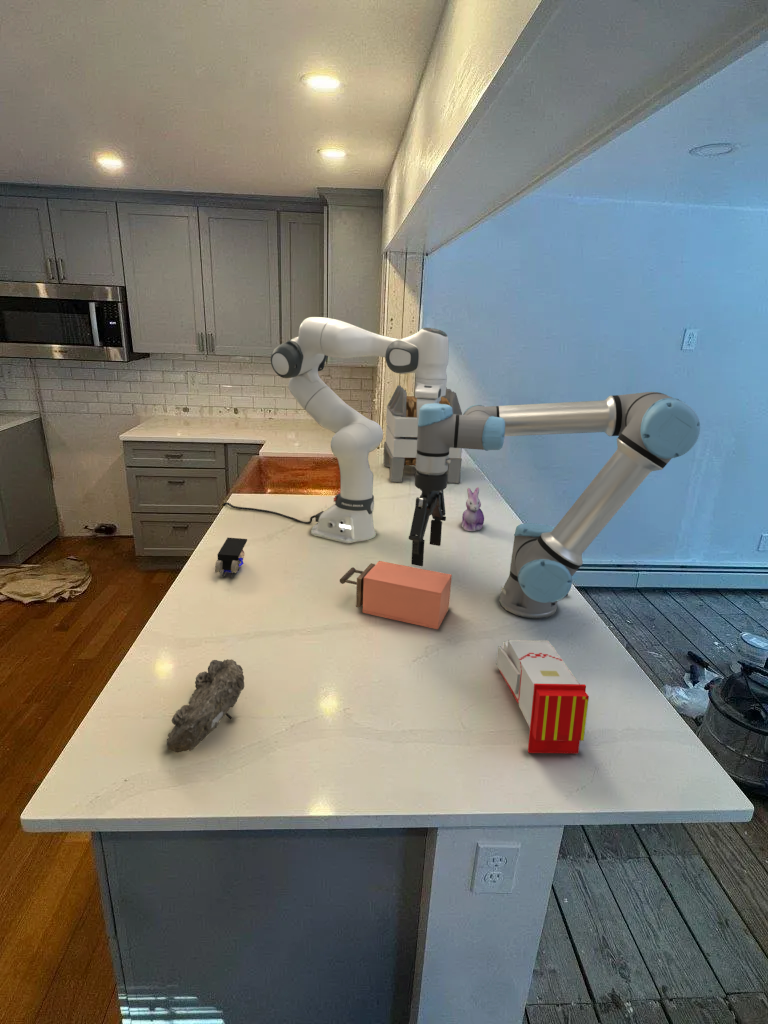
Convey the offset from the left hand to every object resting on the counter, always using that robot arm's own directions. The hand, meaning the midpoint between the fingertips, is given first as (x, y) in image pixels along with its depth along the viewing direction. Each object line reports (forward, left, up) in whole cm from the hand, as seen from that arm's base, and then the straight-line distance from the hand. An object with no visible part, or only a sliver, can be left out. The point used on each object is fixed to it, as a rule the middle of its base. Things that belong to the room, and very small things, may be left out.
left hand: (427, 436), depth 165 cm
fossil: (-21, -84, -40) cm, 95 cm away
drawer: (-1, -31, -39) cm, 50 cm away
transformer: (-22, +100, -40) cm, 110 cm away
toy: (+37, -60, -40) cm, 81 cm away
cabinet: (+4, -32, -40) cm, 51 cm away
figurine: (+12, +36, -40) cm, 55 cm away
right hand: (+9, -34, -22) cm, 42 cm away
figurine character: (-50, -26, -40) cm, 69 cm away
